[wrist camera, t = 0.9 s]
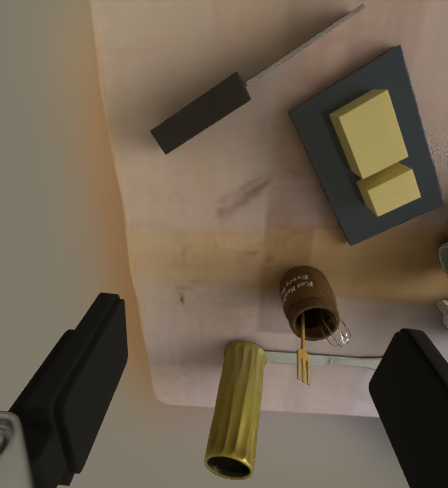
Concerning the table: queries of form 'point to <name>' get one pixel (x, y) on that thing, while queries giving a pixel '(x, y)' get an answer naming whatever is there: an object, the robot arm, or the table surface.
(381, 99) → the butter block
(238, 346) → the vase
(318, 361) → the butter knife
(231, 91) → the table knife
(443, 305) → the mug
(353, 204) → the board
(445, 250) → the ceramic mug
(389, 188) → the butter pat
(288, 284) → the utensil holder
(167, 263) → the table surface
